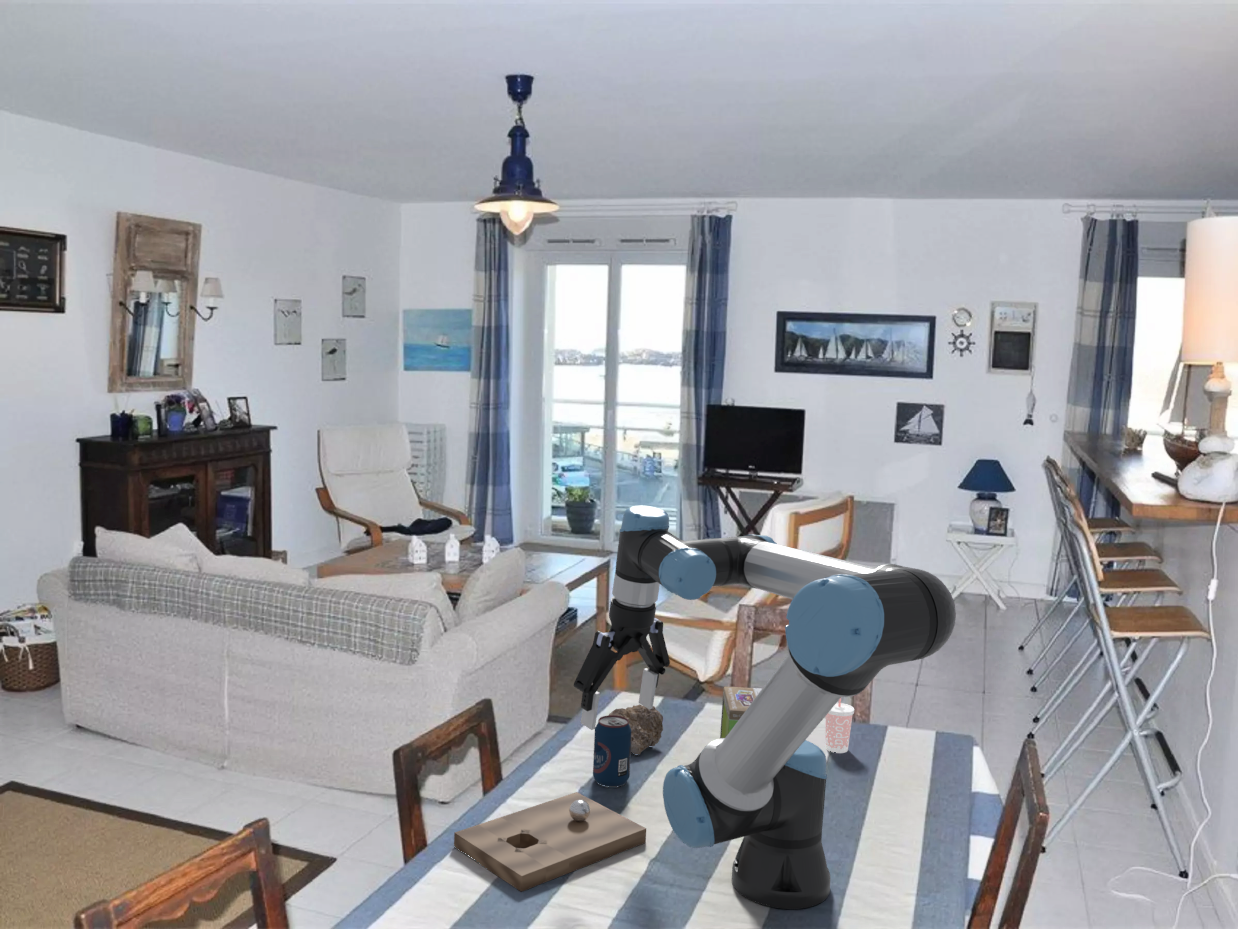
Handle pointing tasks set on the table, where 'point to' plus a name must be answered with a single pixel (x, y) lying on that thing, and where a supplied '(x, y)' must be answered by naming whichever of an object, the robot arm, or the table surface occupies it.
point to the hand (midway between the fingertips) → (617, 715)
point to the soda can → (612, 751)
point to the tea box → (735, 706)
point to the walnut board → (548, 841)
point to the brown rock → (642, 726)
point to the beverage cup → (838, 727)
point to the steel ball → (579, 810)
